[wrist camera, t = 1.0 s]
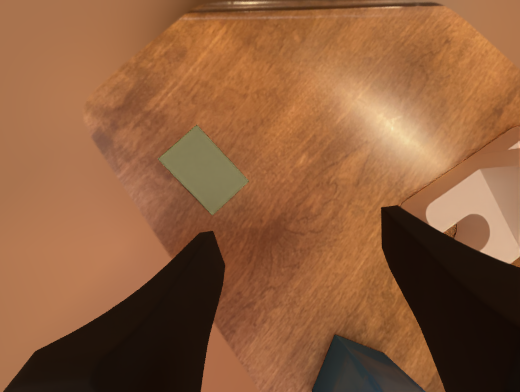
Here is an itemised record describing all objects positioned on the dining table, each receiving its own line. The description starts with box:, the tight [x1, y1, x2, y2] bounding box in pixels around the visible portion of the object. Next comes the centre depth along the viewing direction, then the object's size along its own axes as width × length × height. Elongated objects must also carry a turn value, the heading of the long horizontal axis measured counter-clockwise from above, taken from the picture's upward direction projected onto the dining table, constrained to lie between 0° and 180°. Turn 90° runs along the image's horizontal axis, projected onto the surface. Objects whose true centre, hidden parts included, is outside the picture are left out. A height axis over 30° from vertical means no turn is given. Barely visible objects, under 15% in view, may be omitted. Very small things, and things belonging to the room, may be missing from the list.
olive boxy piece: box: [158, 125, 249, 215], centre depth 24 cm, size 4×6×5 cm, turn 44°
